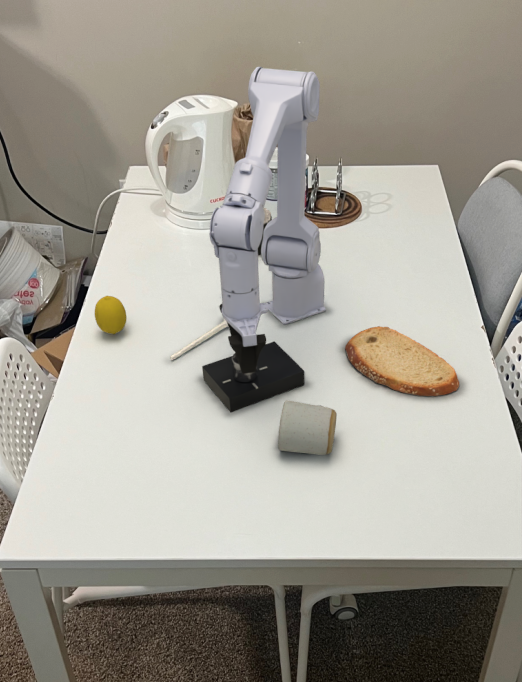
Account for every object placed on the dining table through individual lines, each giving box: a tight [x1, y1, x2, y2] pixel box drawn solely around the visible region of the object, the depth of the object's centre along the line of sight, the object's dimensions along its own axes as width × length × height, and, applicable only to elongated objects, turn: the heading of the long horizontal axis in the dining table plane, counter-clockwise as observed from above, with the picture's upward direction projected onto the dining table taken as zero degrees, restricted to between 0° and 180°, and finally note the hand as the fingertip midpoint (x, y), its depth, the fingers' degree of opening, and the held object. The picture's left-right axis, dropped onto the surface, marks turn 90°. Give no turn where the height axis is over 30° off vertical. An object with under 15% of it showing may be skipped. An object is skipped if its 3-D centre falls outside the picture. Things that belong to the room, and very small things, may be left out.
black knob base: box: [201, 341, 305, 414], centre depth 125 cm, size 14×10×3 cm
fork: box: [169, 319, 229, 361], centre depth 136 cm, size 3×20×2 cm, turn 140°
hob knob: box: [231, 352, 257, 382], centre depth 122 cm, size 4×4×4 cm
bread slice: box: [344, 325, 460, 397], centre depth 128 cm, size 18×18×4 cm
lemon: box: [94, 295, 127, 335], centre depth 135 cm, size 6×6×8 cm
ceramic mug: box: [277, 399, 338, 456], centre depth 113 cm, size 11×8×8 cm
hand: (244, 357), depth 121 cm, fingers open, 7 cm apart
